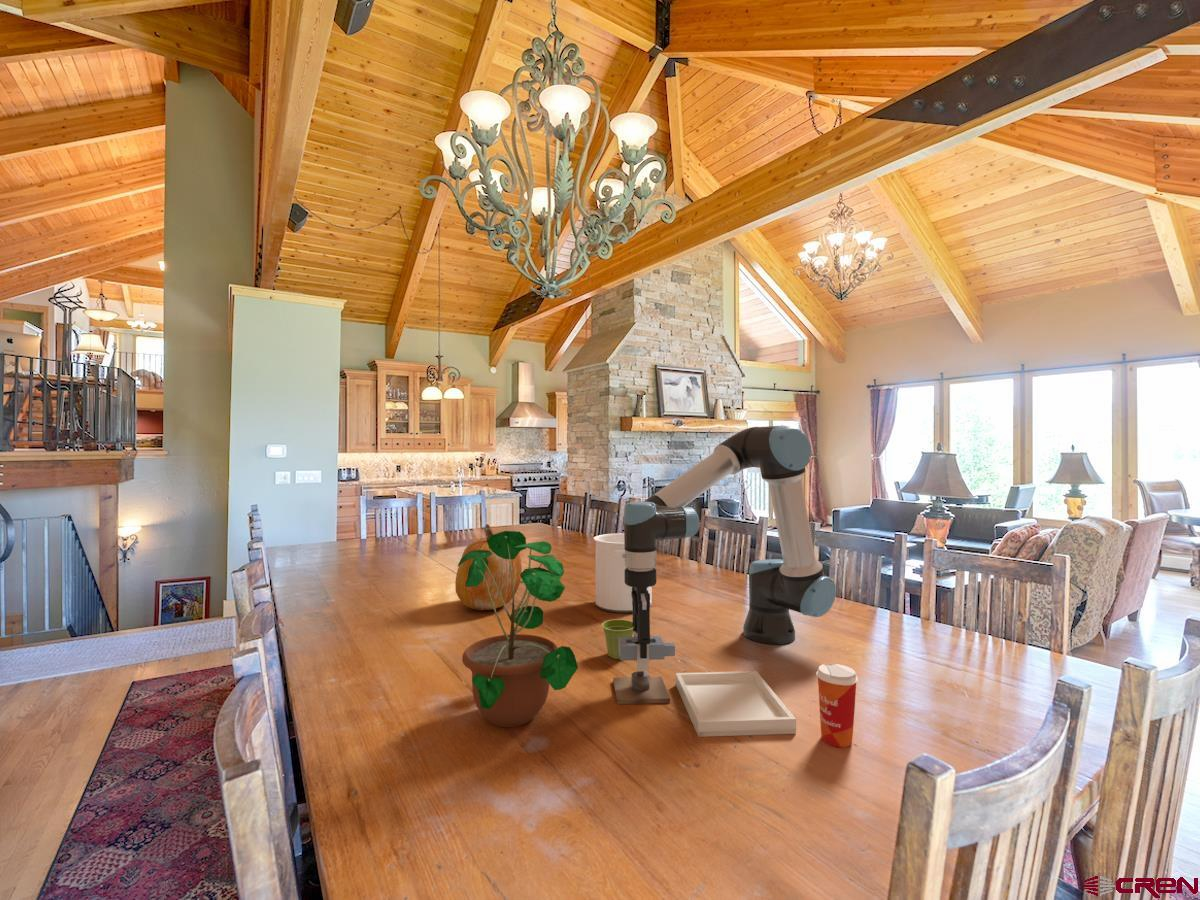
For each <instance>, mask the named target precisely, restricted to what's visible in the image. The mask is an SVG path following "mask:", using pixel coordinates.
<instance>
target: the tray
mask: <svg viewBox="0 0 1200 900" xmlns="http://www.w3.org/2000/svg"><path fill="white" fill-rule="evenodd" d="M675 687H676V689H677V691H678V694H679V696H680V698H681V700H682V703H683V705H684V708H685V709H686V712H687V714H688V716H689V719H690V721H691V723H692V725H693V727H694V731H695V732H696V734H697V737H698V738H701V737H703V738H704V737H706V738H707V737H732V736H733V737H736V736H737V737H739V736H764V735H792V734H793V735H795V734H797V718H796V717H795V716H794V715H793V713H792V712H791V711H790V710H789V708H787V706H786V705H785V703H783V701H782V700H781V699H780V697H779V696H778V695H777V694H776V693H775V692H774V690H773V689H772V688H771V686H769V684H768V683H767V682H766V681H765V680H764V678H763V677H762V675H760V673H759V672H758V671H757V670H755V671H754V670H750V671H745V670H744V671H710V672H709V671H708V672H700V671H699V672H675Z"/></svg>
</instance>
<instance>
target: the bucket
mask: <svg viewBox="0 0 1200 900" xmlns="http://www.w3.org/2000/svg"><path fill="white" fill-rule="evenodd" d="M593 541H594V542H595V558H594V559H595V605H596V606H597V607H598V608H599V609H601V610H602V611H606V612H611V613H616V614H617V613H618V614H619V613H620V614H631V613H632V614H633V606H632V595H631V592H632V587H630V586H628V585H626V584H625V571H624V570H625V569H626V568H627V567H626V566H625V558H622V554H625V546H624V532H623V533H619V532H618V533H617V532H616V533H615V532H613V533H605V534H600V535H596V536H594V537H593ZM652 588H653V586H651V587H648V588H647V591H648V593H650V607H651V606H652V602H653V601H652V593H653V592H652V590H653V589H652Z"/></svg>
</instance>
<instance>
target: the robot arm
mask: <svg viewBox="0 0 1200 900" xmlns="http://www.w3.org/2000/svg"><path fill="white" fill-rule="evenodd" d="M809 439H810V438H808V436H807V434H806V433H805V432H804V431H803V430H801V429H800V428H798V427H796V426H793V425H792V426H790V425H789V426H788V425H773V426H772V425H771V426H751V427H747V428H745V429H743V430H740V431H738V432H737V433H735V434H733V435H732V436H730V437H728V438H726V439H725V440H724V441H722V442H721V443H719V444H717V445H716V446H715V447H714V449H713V452H712V453H711V454H710V455H707V457H705V458H704V459H702V460H701V461H699V462H698V463H697V464H696V465H693V467H691V468H689V469H688V470H686V471H685V472H684V473H682V474H681V475H679V476H678V477H677V478H675V479H674V480H673V481H672V480H671V482H669V483H668V484H667V485H666V486H664V487H662V488H661V489H660V490H658V491H657V492H655V493H654V494H652V495H651V496H650V497H648V498H646V499H644V500H643V501H641V500H639V501H630V502H628V503H626V504H625V506H624V511H623V522H622V523H623V530H624V531H623V533H624V546H625V554H622V558H625V566H626V567H627V568H626V569H625V570H624V571H625V584H626V585H628V586H630V587H632V592H631V595H632V606H633V612H632V622H633V623H632V626H633V627H634V628H633V631H634V632H633V637H638V640H637V641H635V644H637V660H633V662H634V661H636V672H641V671H644V672H650V660H649V644H650V636H651V626H650V625H651V624H650V623H651V617H650V615H651V613H650V612H651V611H650V607H651V606H650V593H648V591H647V588H648V587H651V586H652V587H654V586H656V584H657V569H656V567H657V541H658V542H659V541H660V542H661V541H668V540H676V539H677V540H678V539H679V540H680V539H683V540H685V539H687V538H691V537H693V536H694V537H695V536H696V535H697V534H698V532H699V528H700V517H699V515H698V513H697V511H696V510H695V509H694V508H693V507H690V506H687V505H689V504H690V503H691V502H693V501H694V500H696V499H697V498H699V497H700V496H702V495H703V494H704V493H705V492H707V491H708V490H709V489H711V488H712V487H714V486H716V485H717V484H718V483H719V482H721V481H722V480H723V479H724V478H726V477H727V476H729V475H732V476H733V475H734V476H735V475H737V474H738V473H739V472H740V471H742V470H746V469H751V468H755V469H756V468H757V469H759V470H760V474H761V475H760V476H761V479H762V480H763V481H764V482H766V483H767V484H768V487H769V492H770V496H771V503H772V507H773V512H774V517H775V523H776V529H777V535H778V539H779V545H780V549H781V555H782V559H780V558H777V559H776V558H772V559H769V558H767V559H759V560H754V561H752V562H750V564H749V571H748V595H749V596H748V601H749V602H748V603H749V604H748V605H749V606H748V610H747V611H748V612H747V615H746V617H745V620H744V623H743V628H742V632H743V633H742V634H743V636H744V637H746V639H749V640H751V641H754V642H756V643H761V644H768V645H784V644H788V643H792V642H794V641H795V640H796V630H795V629H796V628H795V627H794V623H793V620H792V617H791V614H790V611H793V612H796V613H800V614H802V615H803V616H810V617H813V618H820V617H822V616H825V615H826V614H827V613H828V612H829V611H830V610H831V609H832V606H833V605H834V603H835V600H836V595H837V586H836V583H835V581H834V579H832V578H831V577H829V576H827V575H825V573H824V567H823V564H822V562H820V561H819V560H817V559H816V555H815V548H814V544H813V538H812V533H811V527H810V522H809V516H808V515H809V514H808V509H807V506H806V505H807V504H806V500H805V499H806V498H805V493H804V489H803V484H802V477H803V476H804V475H805V474H806V467H807V466H808V465H809V463H810V461H811V458H810V457H812V446H811V442H810V440H809Z"/></svg>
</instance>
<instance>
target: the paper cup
mask: <svg viewBox="0 0 1200 900" xmlns="http://www.w3.org/2000/svg"><path fill="white" fill-rule="evenodd" d="M815 674H816V677H817V686H818V700H819V701H818V702H819V703H818V704H819V721H820V734H821V740H822V741H823V742H824V743H825V744H827V745H829V746H831V747H834V748H839V749H842V748H844V749H846V748H849V747H851V746H852V743H853V737H854V736H853V735H854V722H855V707H856V696H857V695H856V693H857V683H858V682H859V678H858V676H857V673H856V671H855V670H854V669H853V668H851V667H850V666H846V665H843V664H838V663H834V664H833V663H827V664H823V663H822V664H821V665H819V666H818V669H817V671H816V672H815Z"/></svg>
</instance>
